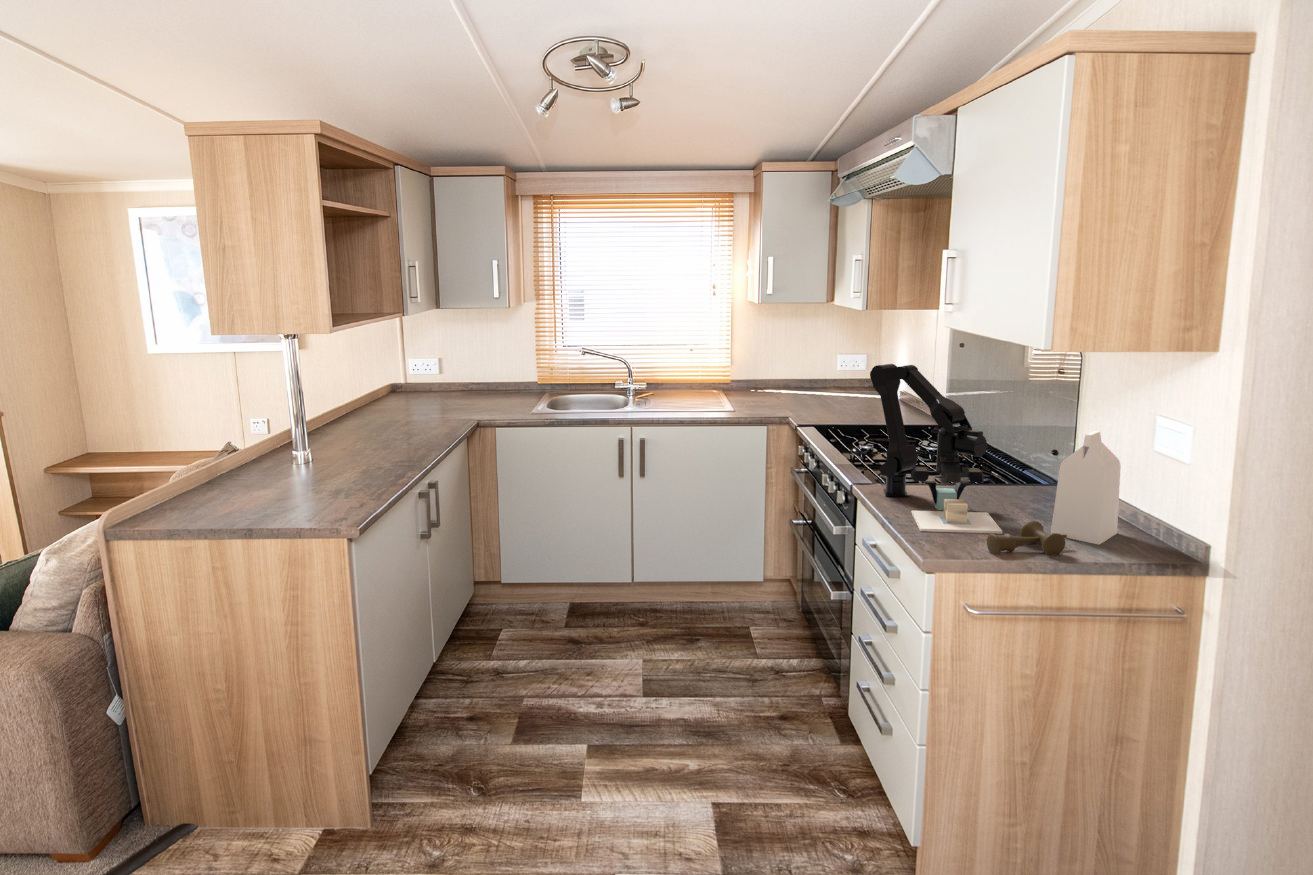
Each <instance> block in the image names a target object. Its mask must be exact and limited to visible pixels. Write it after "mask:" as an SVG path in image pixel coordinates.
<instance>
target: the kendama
mask: <svg viewBox="0 0 1313 875" xmlns="http://www.w3.org/2000/svg"><path fill="white" fill-rule="evenodd" d="M1066 537H1067V535H1061V534H1057V533H1052V534H1051V533H1049V532H1046V531H1044V526H1043V525H1042V523H1041V522H1039V521H1037V520H1031V521H1027V522H1026V523H1025V524H1024V525H1023V526H1022V528H1021V530H1020V536H1017V535H1012V534H1010V533H1004V534H1003V535H996V533H988V536H987V538H986V547H987V550H988V552H989V553H990V554H991V555H994V556H998V555H1000V554H1001V552H1006V551H1007V552H1008V553H1012V552H1015V549H1018V548H1019V547H1022V546H1026V545H1040V546H1041V547H1042V549H1043V551H1044V553H1045V554H1046V555H1048V556H1060V554H1061V553H1063V551H1065V550H1064V549H1065V548H1066V539H1065V538H1066Z"/></svg>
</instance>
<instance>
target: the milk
mask: <svg viewBox="0 0 1313 875" xmlns="http://www.w3.org/2000/svg"><path fill="white" fill-rule="evenodd" d="M1082 443H1083V444H1082V445H1083V446H1081V447H1079V448H1078V449H1077V450H1075V451H1074V452H1073V453H1071V454H1070V455H1068V456H1067V457H1065V458H1064V459H1063V460H1062V461H1061V463H1060V465H1059V469H1058V470H1059V472H1058V477H1057V483H1056V484H1057V485H1056V492H1055V500H1054V507H1053V512H1052V520H1051V527H1050V534H1052V533H1057V534H1061V535H1067V537H1065V538H1067V539H1072V540H1075V539H1076V541H1080V542H1085V543H1090V544H1094V545H1101V544H1103V543H1104V542H1106V541H1107V540H1109V539H1111V538H1112V537H1114V536H1115V535H1117V534H1118V522H1119V505H1120V504H1119V502H1120V483H1121V481H1120V480H1121V462H1120V459H1119V458H1118V457H1117V456H1116V455H1115V454H1114V452H1112V450H1110V449H1109V448H1108V446H1106V445H1105V444H1104V442H1102V436H1101V431H1099V430H1093V431H1091V432H1088V433H1085V435H1084V439H1083V442H1082Z"/></svg>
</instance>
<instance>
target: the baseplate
mask: <svg viewBox="0 0 1313 875" xmlns="http://www.w3.org/2000/svg"><path fill="white" fill-rule="evenodd" d="M943 513H944V510H932V511H931V510H911V515H912V517H913V520H914V521H915V524H916V525H917V527H918V529H919V531H920V532H935V533H936V532H938V533H939V532H940V533H969V534H972V533H973V534H999V535H1000V534H1003V530H1002V529H1001V527H999V525H998V523H996V521H995V520H994V519H993V517H992V516H991V515H990V514H989V512H982V511H981V512H978V511H977V512H976V511H967V523H947V522H946V520H945V519H944V517H943Z"/></svg>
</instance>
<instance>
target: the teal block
mask: <svg viewBox="0 0 1313 875" xmlns="http://www.w3.org/2000/svg"><path fill="white" fill-rule="evenodd" d="M936 495H937V503H936V504H934V503H933V504H934V506H935V509H936V511H944V499H957V493H956V491H955V488H944V487H943V488H942V487H941V488H939V487H938V488H937V487H936Z"/></svg>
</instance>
